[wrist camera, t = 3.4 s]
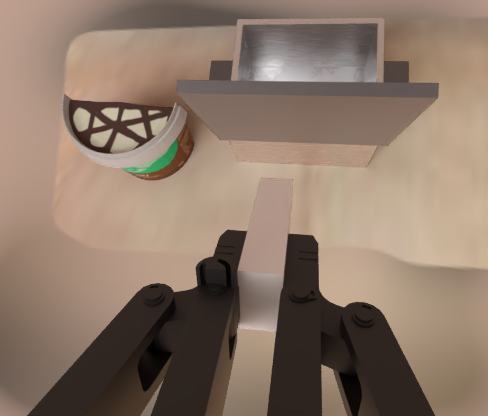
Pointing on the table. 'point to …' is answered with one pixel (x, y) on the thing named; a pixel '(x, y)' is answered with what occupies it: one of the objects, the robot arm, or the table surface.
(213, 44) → the table surface
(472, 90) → the table surface
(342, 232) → the table surface
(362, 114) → the pot lid
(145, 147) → the food container
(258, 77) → the rectangular cooking pot
